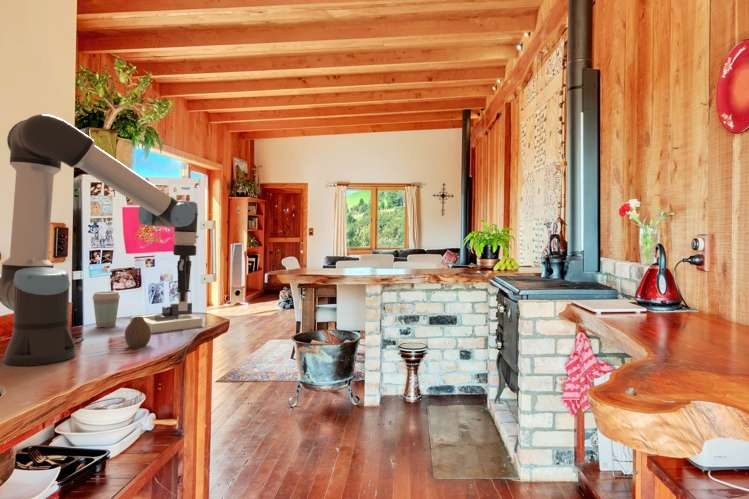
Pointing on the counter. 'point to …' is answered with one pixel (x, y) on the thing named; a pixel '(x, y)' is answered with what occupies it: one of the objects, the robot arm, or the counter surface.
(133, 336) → the vase
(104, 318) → the coffee cup
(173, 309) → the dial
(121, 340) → the counter surface
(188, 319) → the dial board
